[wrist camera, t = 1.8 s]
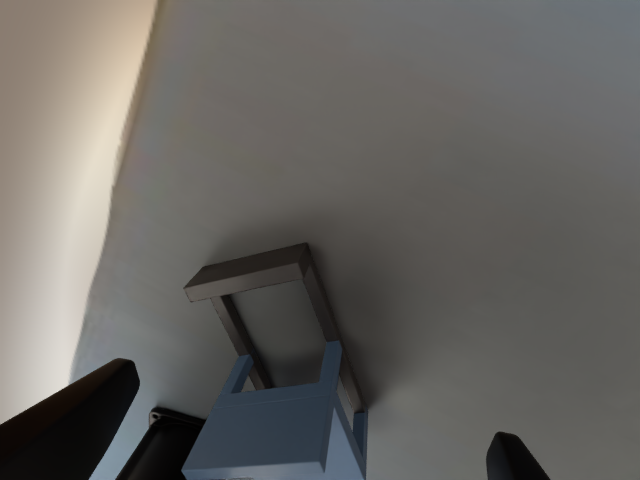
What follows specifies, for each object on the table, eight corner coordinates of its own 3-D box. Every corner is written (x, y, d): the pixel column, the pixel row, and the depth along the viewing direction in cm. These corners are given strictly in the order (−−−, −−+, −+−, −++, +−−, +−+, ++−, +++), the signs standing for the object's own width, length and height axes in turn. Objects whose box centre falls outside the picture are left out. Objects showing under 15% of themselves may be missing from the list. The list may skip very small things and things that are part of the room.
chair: (202, 266, 22) (109, 366, 15) (307, 241, 20) (263, 340, 13) (278, 420, 27) (237, 555, 19) (368, 410, 25) (363, 556, 17)
